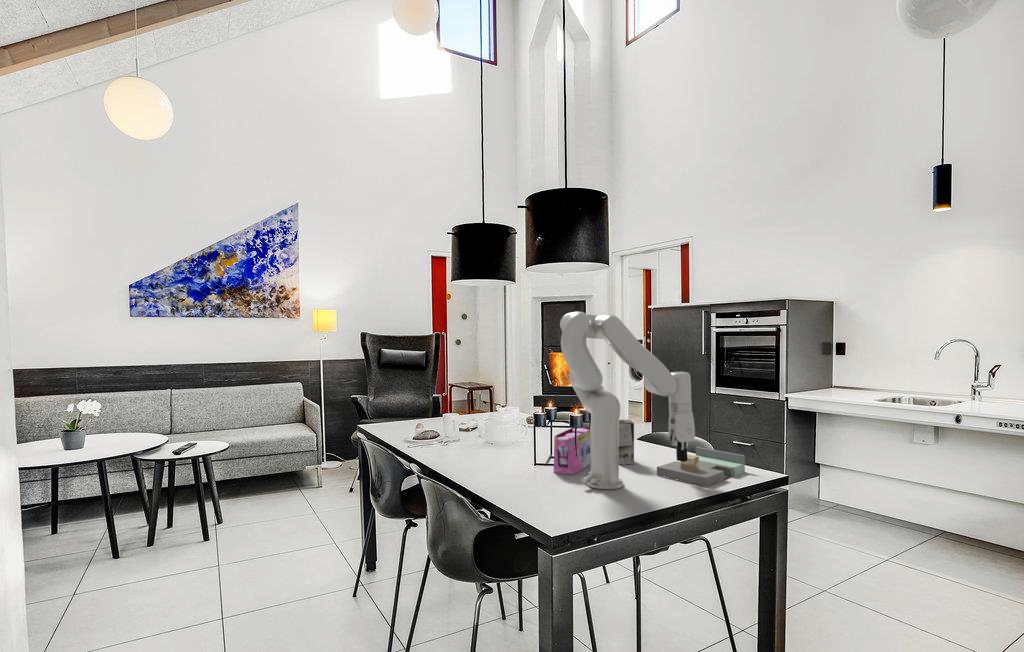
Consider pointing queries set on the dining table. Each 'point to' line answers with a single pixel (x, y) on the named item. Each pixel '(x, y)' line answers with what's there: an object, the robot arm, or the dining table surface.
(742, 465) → the board
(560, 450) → the gum box
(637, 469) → the dining table surface
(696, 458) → the block
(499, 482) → the dining table surface
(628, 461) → the coffee box
